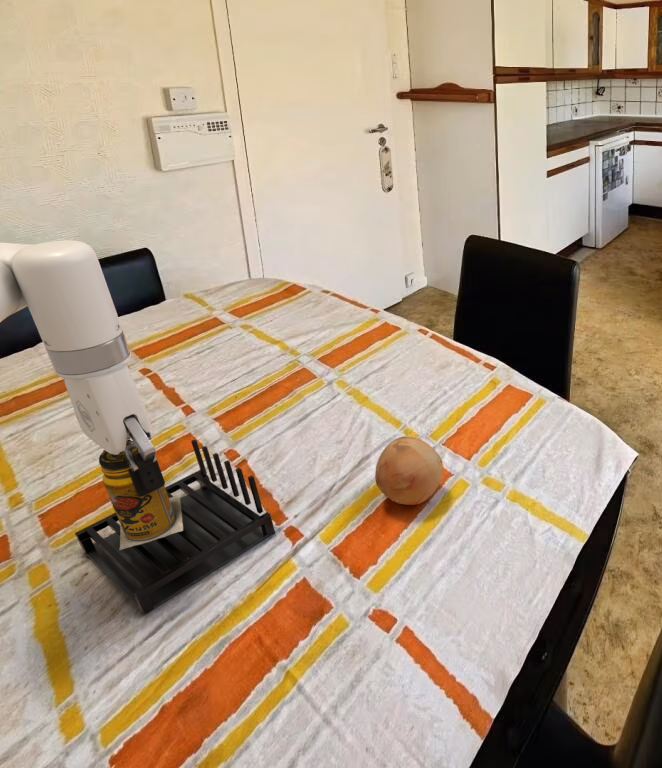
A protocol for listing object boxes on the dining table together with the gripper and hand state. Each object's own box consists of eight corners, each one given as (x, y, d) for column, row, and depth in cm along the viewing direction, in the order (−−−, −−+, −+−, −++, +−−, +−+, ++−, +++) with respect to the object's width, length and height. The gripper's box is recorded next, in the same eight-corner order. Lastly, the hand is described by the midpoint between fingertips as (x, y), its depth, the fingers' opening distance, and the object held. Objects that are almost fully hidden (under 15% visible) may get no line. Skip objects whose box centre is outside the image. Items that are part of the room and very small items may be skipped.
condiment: (120, 551, 78) (87, 473, 72) (121, 513, 85) (91, 438, 79) (183, 532, 81) (157, 455, 75) (180, 496, 88) (155, 423, 82)
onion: (456, 503, 92) (451, 447, 87) (392, 527, 88) (383, 469, 83) (430, 470, 99) (425, 417, 95) (370, 490, 95) (361, 436, 90)
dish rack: (144, 615, 75) (119, 557, 71) (83, 551, 85) (57, 497, 80) (275, 532, 87) (261, 478, 83) (208, 485, 97) (192, 435, 93)
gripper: (24, 345, 73) (79, 470, 81) (86, 386, 63) (140, 523, 72) (93, 325, 78) (138, 444, 86) (160, 360, 68) (202, 490, 77)
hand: (138, 479), depth 79 cm, fingers closed on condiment, 6 cm apart
